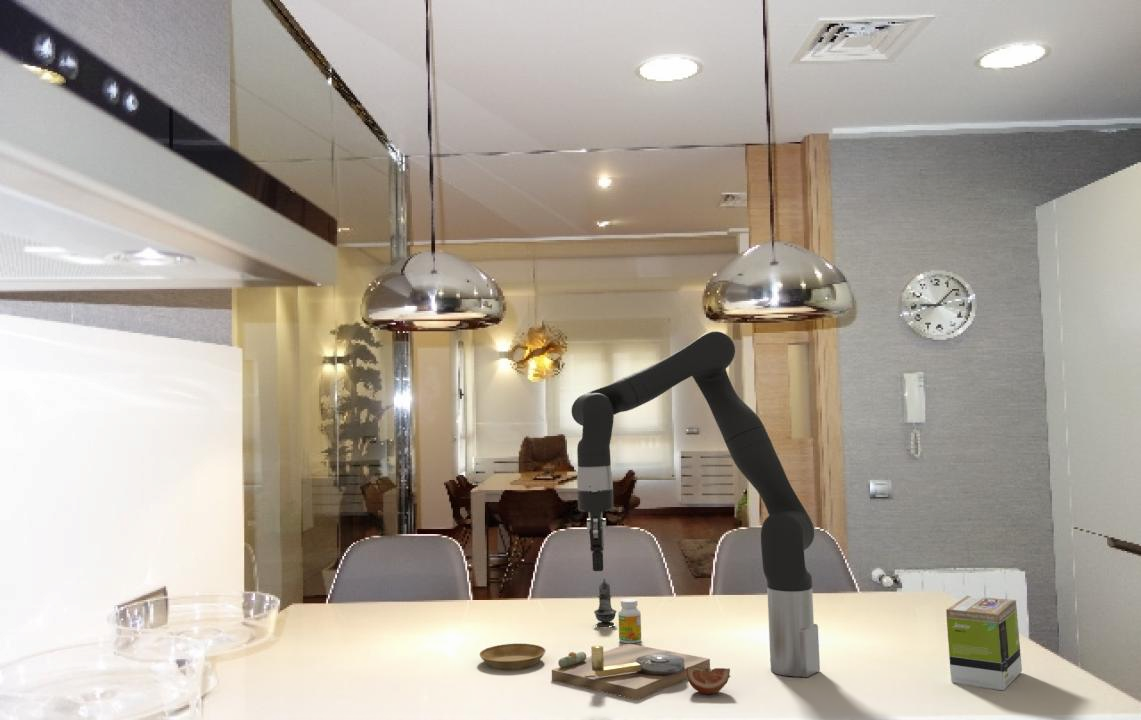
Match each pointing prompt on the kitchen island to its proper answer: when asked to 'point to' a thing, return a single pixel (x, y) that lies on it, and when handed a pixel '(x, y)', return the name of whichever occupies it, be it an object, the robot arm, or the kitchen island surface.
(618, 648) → the levelling board
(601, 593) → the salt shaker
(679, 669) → the grey and tan lever
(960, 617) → the tea box
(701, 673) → the fruit slice
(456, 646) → the kitchen island surface
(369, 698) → the kitchen island surface
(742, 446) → the robot arm
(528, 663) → the plant saucer
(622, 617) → the supplement bottle
